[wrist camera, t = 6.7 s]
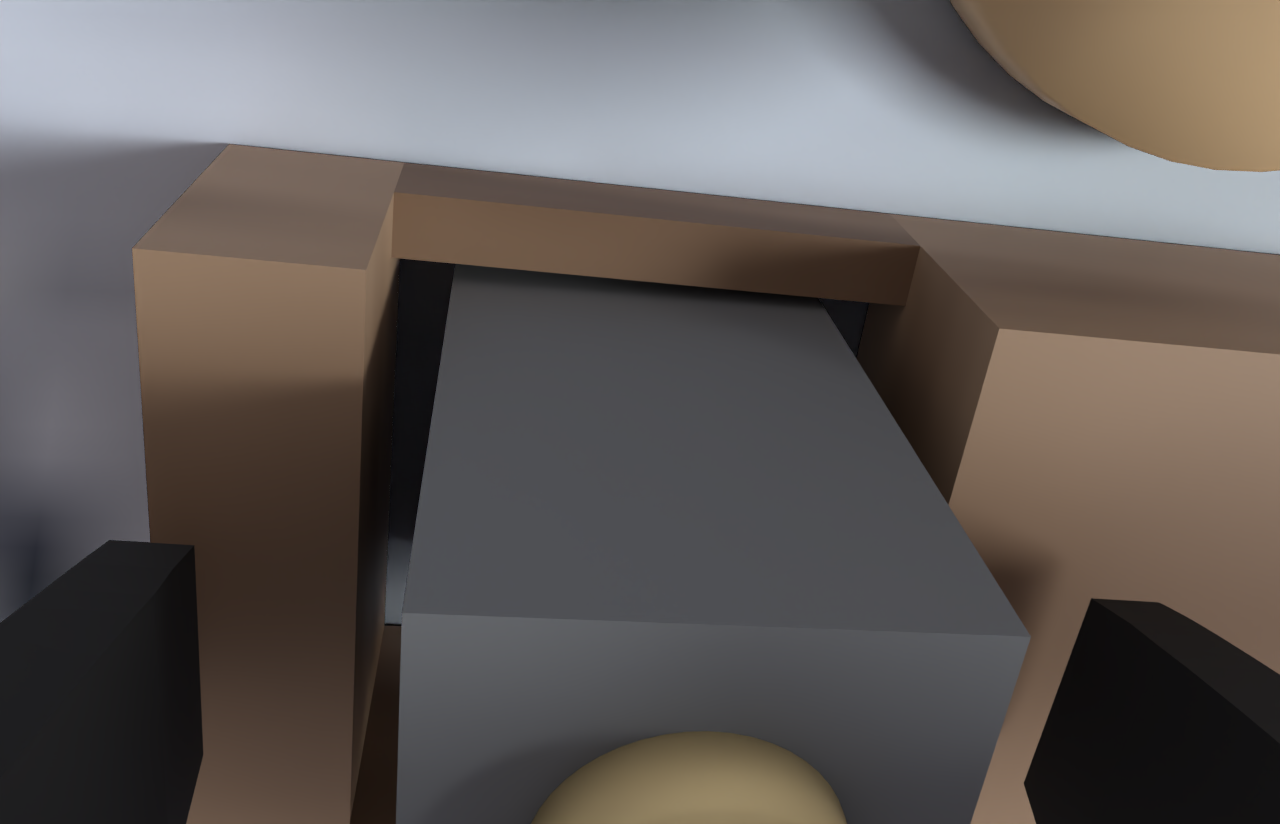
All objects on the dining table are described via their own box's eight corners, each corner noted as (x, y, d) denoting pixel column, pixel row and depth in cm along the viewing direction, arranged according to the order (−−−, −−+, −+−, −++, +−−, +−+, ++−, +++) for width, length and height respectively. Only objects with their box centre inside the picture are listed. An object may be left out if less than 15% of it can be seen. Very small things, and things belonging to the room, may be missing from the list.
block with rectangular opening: (1200, 704, 15) (1345, 894, 12) (241, 660, 13) (170, 868, 11) (1389, 267, 12) (1628, 387, 10) (229, 144, 11) (131, 248, 8)
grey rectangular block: (749, 558, 13) (927, 1127, 8) (444, 545, 13) (380, 1138, 7) (802, 272, 12) (1076, 708, 6) (457, 245, 11) (389, 689, 6)
